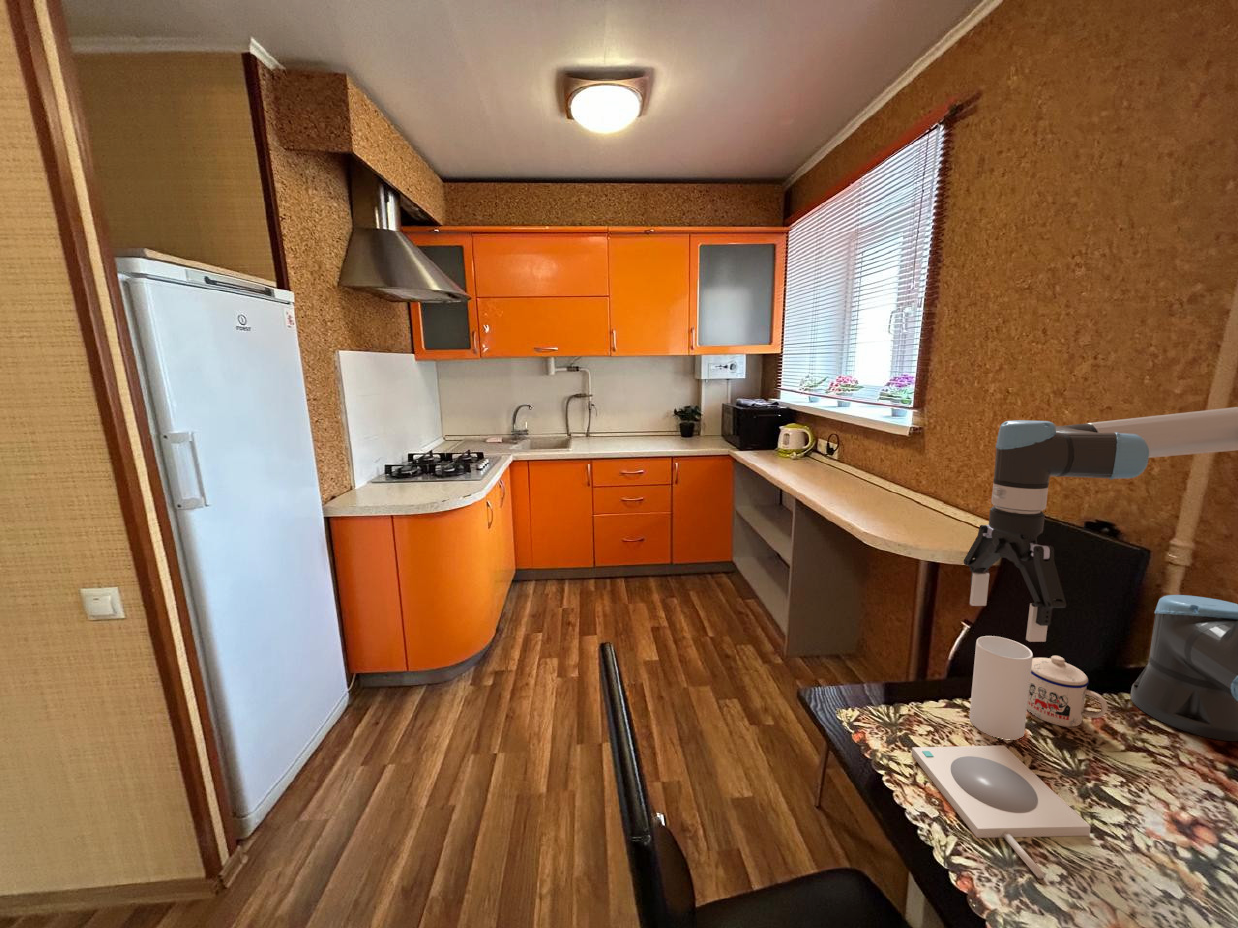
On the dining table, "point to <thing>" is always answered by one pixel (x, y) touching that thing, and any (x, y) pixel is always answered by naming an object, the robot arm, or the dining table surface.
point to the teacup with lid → (1060, 692)
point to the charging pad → (999, 795)
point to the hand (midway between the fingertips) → (1004, 621)
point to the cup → (1000, 687)
